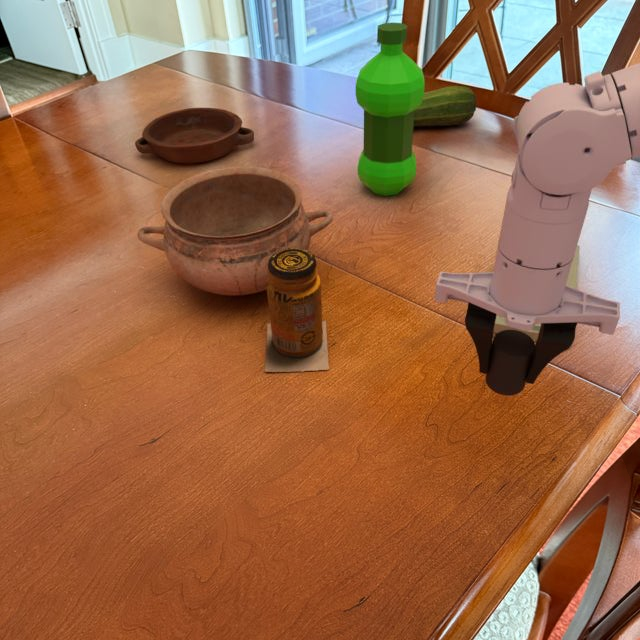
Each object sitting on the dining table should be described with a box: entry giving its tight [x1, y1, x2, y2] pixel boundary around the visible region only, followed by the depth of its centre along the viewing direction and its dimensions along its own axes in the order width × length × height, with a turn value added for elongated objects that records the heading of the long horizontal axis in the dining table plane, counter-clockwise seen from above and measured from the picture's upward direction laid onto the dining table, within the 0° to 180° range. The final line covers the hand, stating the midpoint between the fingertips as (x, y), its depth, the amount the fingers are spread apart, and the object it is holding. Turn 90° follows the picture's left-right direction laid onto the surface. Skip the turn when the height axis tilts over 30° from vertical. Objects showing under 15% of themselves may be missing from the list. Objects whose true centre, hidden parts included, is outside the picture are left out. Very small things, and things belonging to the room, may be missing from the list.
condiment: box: [264, 248, 330, 373], centre depth 67 cm, size 7×8×12 cm
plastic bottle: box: [355, 22, 426, 197], centre depth 92 cm, size 10×10×25 cm
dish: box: [134, 107, 255, 164], centre depth 112 cm, size 18×22×5 cm
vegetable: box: [413, 85, 478, 128], centre depth 116 cm, size 7×7×20 cm
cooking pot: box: [137, 166, 334, 297], centre depth 78 cm, size 25×19×12 cm
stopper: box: [485, 330, 536, 397], centre depth 55 cm, size 4×4×5 cm
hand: (506, 370), depth 56 cm, fingers closed on stopper, 3 cm apart
